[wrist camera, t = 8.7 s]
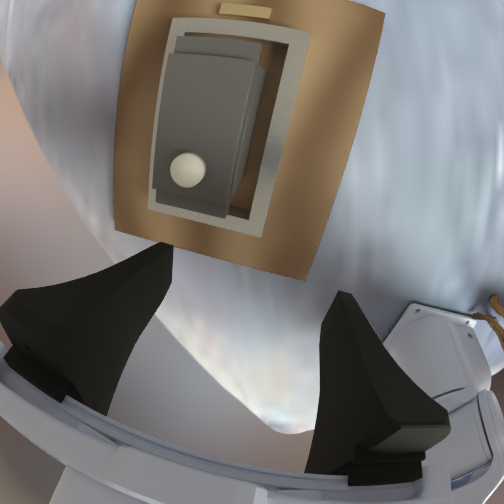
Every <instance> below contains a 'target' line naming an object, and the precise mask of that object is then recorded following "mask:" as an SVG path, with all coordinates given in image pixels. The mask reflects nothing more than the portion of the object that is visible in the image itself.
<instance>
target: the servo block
mask: <svg viewBox="0 0 504 504" xmlns="http://www.w3.org/2000/svg"><path fill="white" fill-rule="evenodd" d="M261 49H262V44H261V43H257V42H251V41H243V40H235V39H226V38H215V37H199V36H177V39H176V43H175V48H174V53H169V54H168V60H167V65H166V71H165V76H164V82H163V89H162V95H161V102H160V109H159V117H158V125H157V134H156V144H155V154H154V167H153V181H152V189H156V200H155V202H156V203H160V204H165V205H169V206H173V207H177V208H182V209H186V210H190V211H194V212H198V213H202V214H206V215H210V216H214V217H218V218H222V219H225V218H226V216H227V215H228V209H229V204H230V198H231V196H232V195H233V193H234V192H235V190H236V189H237V187H238V186H239V184H240V183H241V182H242V180H243V179H244V177H245V173H246V168H247V163H248V158H249V154H250V149H251V144H252V139H253V135H254V130H255V125H256V121H257V116H258V112H259V107H260V103H261V98H262V94H263V89H264V85H265V80H266V76H267V72H268V71H266V70H265V69H264V68H262V67H261V66H260V65H259V64H258V62H259V57H260V53H261Z"/></svg>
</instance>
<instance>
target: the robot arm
mask: <svg viewBox="0 0 504 504" xmlns="http://www.w3.org/2000/svg"><path fill="white" fill-rule="evenodd" d="M173 248H174V245H171V244H167V243H164V242H159V243H157V244H155V245H153V246H151V247H149V248H147V249H145V250H143V251H141V252H139V253H137V254H136V255H134V256H132V257H130V258H128V259H126V260H124V261H122V262H119V263H117V264H115V265H113V266H111V267H109V268H107V269H104V270H102V271H99V272H97V273H94V274H91V275H88V276H86V277H83V278H79V279H76V280H72V281H69V282H65V283H61V284H56V285H51V286H46V287H39V288H30V289H19V290H16V291H15V292H14V293H13V294H12V295H11V296H10V297H9V298H8V300H7V301H5V303H4V304H3V305H2V306H1V307H0V322H1V324H2V326H3V328H4V330H5V332H6V334H7V335H8V337H9V339H10V341H11V343H12V344H13V346H12V347H11V348H10V350H9V349H8V348H7V347H6V346H5V345H4V344H3V343H2V342H1V341H0V416H1V417H2V418H4V419H5V420H6V421H7V422H8V423H9V424H10V425H12V426H13V427H14V428H15V429H16V430H17V431H19V432H20V433H21V434H22V435H24V436H25V437H26V438H27V439H29V440H30V441H32V442H33V443H34V444H35V445H37V446H38V447H39V448H41V449H42V450H44V451H45V452H46V453H48V454H49V455H51V456H52V457H54V458H55V459H57V460H58V461H60V462H61V463H63V464H64V465H66V468H65V470H64V472H63V474H62V476H61V478H60V481H59V483H58V485H57V487H56V490H55V492H54V494H53V496H52V499H51V501H50V503H49V504H486V503H485V502H486V500H487V499H488V498H489V497H490V495H491V494H492V493H493V492H494V491H495V489H496V488H497V487H498V486H499V484H500V483H501V482H502V481H503V479H504V418H503V415H502V412H501V409H500V406H499V404H498V401H497V399H496V397H495V395H494V394H493V392H492V391H489V390H490V385H491V371H490V367H489V365H488V362H487V360H486V357H485V355H484V353H483V350H482V348H481V346H480V343H479V341H478V339H477V337H476V335H475V332H474V330H473V327H474V326H475V324H476V323H477V320H476V319H472V318H471V317H469V316H465V315H460V314H456V313H452V312H448V311H444V310H440V309H436V308H432V307H428V306H423V305H419V304H415V303H413V304H410V305H409V306H408V308H407V309H406V311H405V312H404V314H403V315H402V317H401V318H400V320H399V321H398V323H397V324H396V325H395V327H394V328H393V330H392V331H391V333H390V334H389V335H388V337H387V338H386V339H385V341H384V342H383V343H382V342H381V341H380V339H379V338H378V336H377V335H376V333H375V332H374V330H373V329H372V327H371V325H370V324H369V322H368V320H367V319H366V317H365V315H364V314H363V312H362V310H361V308H360V307H359V305H358V303H357V302H356V300H355V298H354V297H353V295H352V294H350V293H346V292H342V291H338V293H337V295H336V297H335V299H334V301H333V303H332V305H331V307H330V308H329V310H328V312H327V314H326V316H325V318H324V320H323V322H322V324H321V333H320V343H319V353H320V396H319V404H318V412H317V418H316V424H315V430H314V435H313V440H312V444H311V449H310V453H309V457H308V461H307V465H306V468H305V472H304V473H297V472H289V471H281V470H275V469H269V468H263V467H257V466H252V465H247V464H242V463H237V462H233V461H228V460H224V459H220V458H216V457H213V456H209V455H205V454H202V453H198V452H195V451H192V450H188V449H185V448H182V447H179V446H176V445H173V444H170V443H167V442H165V441H162V440H159V439H156V438H154V437H152V436H149V435H146V434H144V433H142V432H139V431H137V430H134V429H132V428H130V427H128V426H125V425H123V424H121V423H119V422H116V421H114V420H112V419H110V418H108V417H107V413H108V410H109V407H110V404H111V401H112V398H113V395H114V392H115V390H116V387H117V384H118V382H119V379H120V377H121V374H122V372H123V369H124V367H125V365H126V363H127V360H128V358H129V356H130V354H131V352H132V350H133V347H134V345H135V343H136V342H137V340H138V338H139V336H140V335H141V333H142V332H143V330H144V329H145V327H146V326H147V324H148V322H149V321H150V319H151V318H152V316H153V315H154V313H155V312H156V310H157V309H158V307H159V306H160V304H161V303H162V301H163V299H164V297H165V295H166V293H167V291H168V289H169V287H170V285H171V283H172V265H173ZM417 309H418V310H417ZM115 443H116V444H118V445H120V446H119V447H117V446H116V444H115ZM485 465H486V466H485ZM483 466H485V467H483ZM481 467H483V468H481ZM479 468H481V469H479ZM477 469H479V470H477ZM475 470H477V471H475ZM472 471H474V472H472ZM470 472H472V473H470ZM468 473H470V474H468ZM466 474H468V475H466ZM464 475H466V476H464ZM461 476H464V477H461ZM459 477H461V478H459ZM457 478H459V479H457ZM454 479H457V480H454ZM452 480H454V481H452ZM450 481H452V482H450ZM266 489H269V490H276V492H269V491H267V490H266Z"/></svg>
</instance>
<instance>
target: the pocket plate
mask: <svg viewBox="0 0 504 504" xmlns="http://www.w3.org/2000/svg"><path fill="white" fill-rule="evenodd" d="M384 18H385V13H384V12H381V11H378V10H376V9H373V8H370V7H367V6H365V5H362V4H359V3H356V2H352V1H349V0H137V2H136V5H135V9H134V13H133V17H132V21H131V26H130V30H129V35H128V40H127V45H126V50H125V55H124V61H123V67H122V74H121V81H120V89H119V97H118V106H117V117H116V130H115V147H114V222H115V230H117V231H120V232H124V233H127V234H131V235H134V236H138V237H142V238H145V239H149V240H152V241H156V242H164V243H167V244H171V245H174V247H177V248H181V249H185V250H188V251H192V252H196V253H199V254H203V255H207V256H210V257H214V258H218V259H222V260H225V261H229V262H233V263H237V264H240V265H244V266H248V267H252V268H255V269H259V270H263V271H267V272H271V273H275V274H278V275H282V276H286V277H290V278H294V279H298V280H302V281H305V280H306V277H307V275H308V272H309V269H310V267H311V264H312V262H313V259H314V256H315V254H316V251H317V248H318V246H319V243H320V240H321V237H322V235H323V232H324V229H325V226H326V223H327V221H328V218H329V215H330V212H331V209H332V206H333V203H334V200H335V198H336V195H337V192H338V189H339V186H340V183H341V179H342V176H343V173H344V170H345V167H346V164H347V161H348V158H349V154H350V151H351V148H352V144H353V141H354V138H355V134H356V131H357V128H358V124H359V121H360V117H361V113H362V110H363V106H364V103H365V99H366V95H367V91H368V88H369V84H370V80H371V76H372V72H373V68H374V63H375V59H376V55H377V51H378V46H379V42H380V37H381V32H382V28H383V23H384ZM177 36H199V37H215V38H226V39H235V40H243V41H251V42H257V43H261V44H262V49H261V53H260V57H259V62H258V64H259V65H260V66H261V67H262V68H264V69H265V70H266V71H268V72H267V76H266V80H265V85H264V89H263V94H262V98H261V103H260V107H259V112H258V116H257V121H256V125H255V130H254V135H253V139H252V144H251V149H250V154H249V158H248V163H247V168H246V173H245V177H244V179H243V180H242V182H241V183H240V184H239V186H238V187H237V189H236V190H235V192H234V193H233V195H232V196H231V198H230V204H229V209H228V215H227V216H226V218H225V219H222V218H218V217H214V216H210V215H206V214H202V213H198V212H194V211H190V210H186V209H182V208H177V207H173V206H169V205H165V204H160V203H156V202H155V200H156V189H152V181H153V167H154V154H155V144H156V134H157V125H158V117H159V109H160V102H161V95H162V89H163V82H164V76H165V71H166V65H167V60H168V54H169V53H174V48H175V43H176V39H177Z"/></svg>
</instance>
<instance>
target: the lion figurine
mask: <svg viewBox="0 0 504 504" xmlns="http://www.w3.org/2000/svg"><path fill="white" fill-rule="evenodd" d="M489 303H490V305H491V307H492V308H493V309H494V310H495V311H496V312H497V313H498V314H499V315H501V316H503V317H504V308H503V307H502V306H501V305H499V304H498V303H499V298H498V296H497V295H493V296H492V297H491V299H490V301H489ZM471 318H472V319H479V320H486V321H488V322H490V323H489V325H490V327H491V328H492V329H493V330H494V331H495V332H496V334H497V336H498V338H499V341H500V342H501V346H502V349H503V350H504V329H503V328H502V327H501V326H500V325H499V324H498V320H497V319H495V318H494V319H493V318H491V317H490V316H487V315H484V314H481V313H479V312H477V313H474V314H473V315H472V316H471Z"/></svg>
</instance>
